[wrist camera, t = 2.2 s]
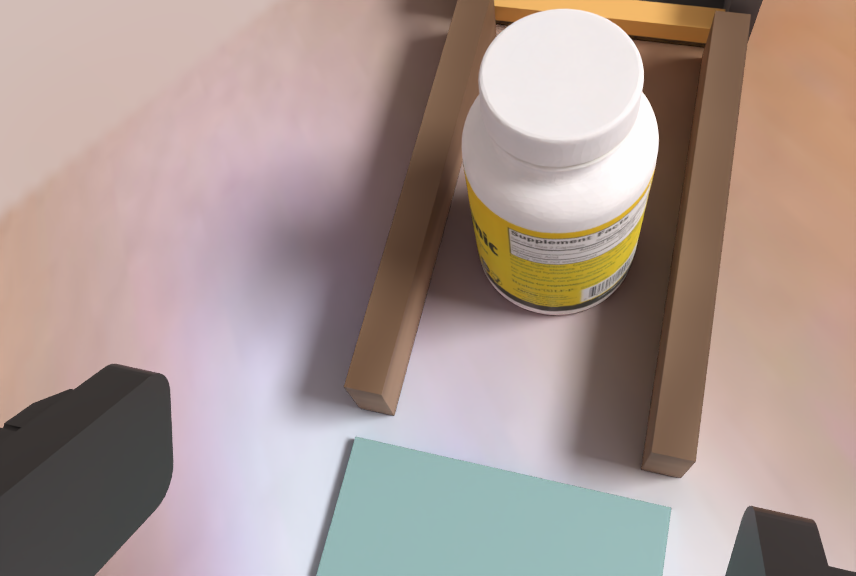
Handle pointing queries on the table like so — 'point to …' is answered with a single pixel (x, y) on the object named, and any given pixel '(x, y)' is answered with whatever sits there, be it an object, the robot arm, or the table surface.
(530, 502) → the pad
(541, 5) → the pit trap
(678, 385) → the chute
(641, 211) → the supplement bottle
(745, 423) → the table surface
